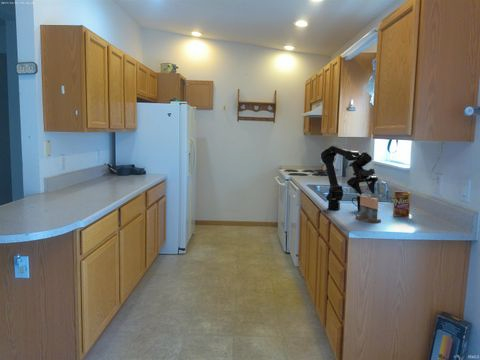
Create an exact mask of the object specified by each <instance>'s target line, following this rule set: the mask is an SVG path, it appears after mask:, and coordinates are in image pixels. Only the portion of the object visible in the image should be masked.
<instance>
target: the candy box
mask: <svg viewBox="0 0 480 360" xmlns="http://www.w3.org/2000/svg"><path fill="white" fill-rule="evenodd" d="M411 197H412V191H401V190H395V191H394V197H393V209H392V210H393V211H392V216H393V217H401V218H408V219H409V217H410V209H411Z"/></svg>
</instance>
